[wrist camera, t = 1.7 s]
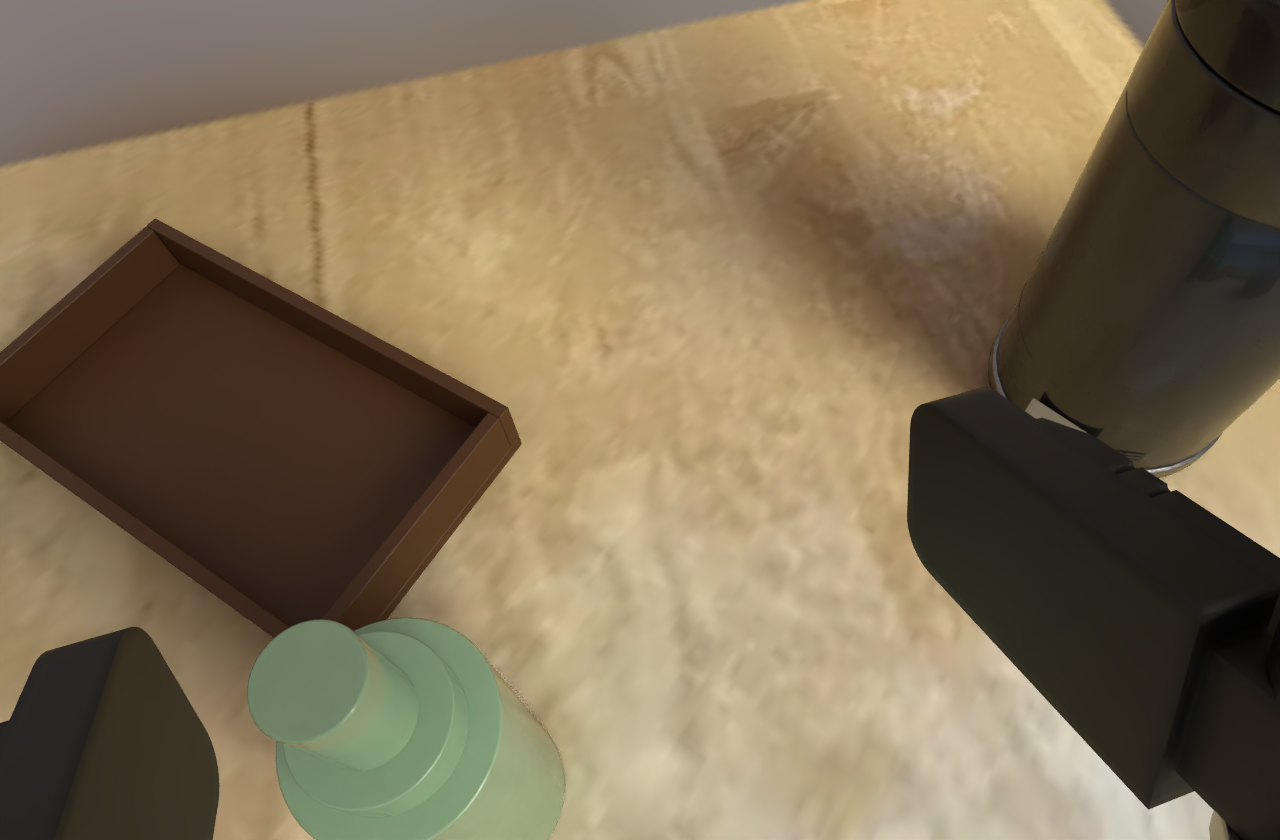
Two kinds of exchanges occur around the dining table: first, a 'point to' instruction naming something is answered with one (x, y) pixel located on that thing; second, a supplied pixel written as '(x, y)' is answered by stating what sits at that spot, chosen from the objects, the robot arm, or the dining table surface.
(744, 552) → the dining table surface
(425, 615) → the dining table surface
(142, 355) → the tray
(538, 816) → the sage bottle
